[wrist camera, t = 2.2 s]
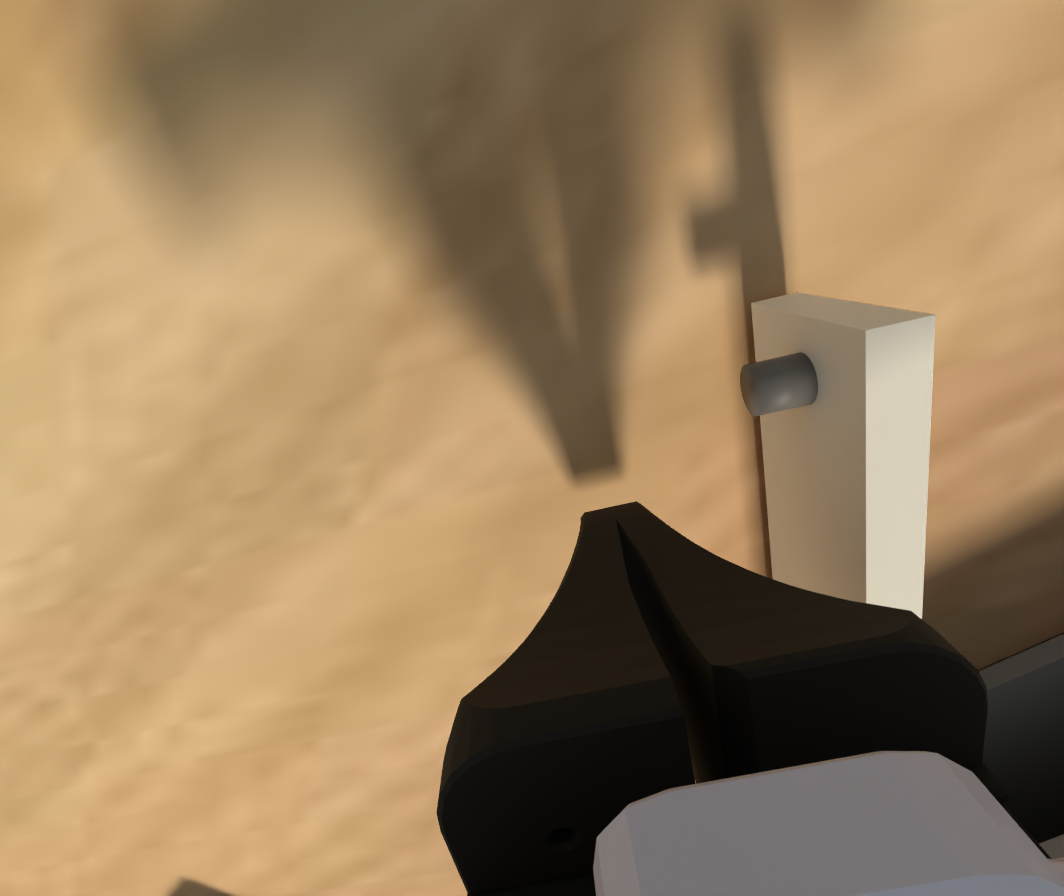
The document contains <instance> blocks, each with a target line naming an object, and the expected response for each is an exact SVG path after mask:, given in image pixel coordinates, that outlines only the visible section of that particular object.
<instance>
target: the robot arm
mask: <svg viewBox="0 0 1064 896" xmlns="http://www.w3.org/2000/svg"><path fill="white" fill-rule="evenodd" d="M987 715H988V696H987V687H986V685H985V683H984V681H983V679H982V677H981V675H980V673H979V671H978V669H976V668H975V667H974V666H973V665H972V664H971V663H970V662H969V661H968V660H967V659H966V658H965V657H963V656H962V655H961V654H960V653H959V652H958V651H957V650H956V649H955V648H954V647H953V646H952V645H951V644H950V643H949V642H948V641H947V640H946V639H945V638H943V637H942V636H941V635H940V634H939V633H938V632H937V631H936V630H934V629H933V628H932V627H931V626H929V625H928V624H927V623H926V622H924V621H923V620H922V619H921V618H919V617H918V616H917V615H916V614H915V613H913V612H912V611H910V610H904V609H898V608H892V607H886V606H880V605H874V604H868V603H862V602H856V601H850V600H845V599H841V598H837V597H833V596H829V595H824V594H820V593H816V592H812V591H809V590H805V589H802V588H798V587H795V586H791V585H788V584H785V583H782V582H779V581H776V580H773V579H770V578H768V577H765V576H762V575H759V574H757V573H754V572H752V571H749V570H747V569H744V568H742V567H740V566H738V565H736V564H733V563H731V562H729V561H727V560H724V559H722V558H720V557H718V556H716V555H714V554H713V553H711V552H709V551H707V550H705V549H704V548H702V547H700V546H698V545H697V544H695V543H693V542H692V541H690V540H689V539H687V538H686V537H684V536H683V535H681V534H680V533H678V532H677V531H675V530H674V529H672V528H671V527H670V526H668V525H667V524H666V523H664V522H663V521H662V520H660V519H659V518H658V517H656V516H655V515H654V514H653V513H651V512H650V511H649V510H648V509H646V508H645V507H644V506H643V505H641V504H640V503H638V502H637V501H636V502H632V503H627V504H622V505H618V506H613V507H608V508H604V509H599V510H594V511H590V512H585V513H584V514H583V515H582V517H581V526H580V532H579V536H578V540H577V544H576V547H575V550H574V553H573V556H572V559H571V562H570V564H569V567H568V569H567V571H566V573H565V576H564V578H563V580H562V583H561V585H560V587H559V589H558V591H557V593H556V595H555V596H554V598H553V600H552V602H551V603H550V605H549V607H548V608H547V610H546V612H545V613H544V615H543V616H542V618H541V619H540V620H539V622H538V623H537V625H536V626H535V628H534V629H533V630H532V632H531V633H530V634H529V636H528V637H527V638H526V639H525V641H524V642H523V643H522V644H521V645H520V646H519V647H518V649H517V650H516V651H515V652H514V653H513V654H512V655H511V656H510V657H509V658H508V659H507V660H506V661H505V662H504V663H503V664H502V665H501V666H500V667H499V668H498V669H497V670H496V671H495V672H493V673H492V674H491V675H490V676H489V677H487V678H486V679H485V680H484V681H483V682H482V683H480V684H479V685H478V686H477V687H476V688H475V689H473V690H472V691H471V692H470V693H468V694H467V695H466V696H465V697H463V698H462V699H461V701H460V704H459V707H458V710H457V713H456V717H455V720H454V723H453V726H452V730H451V734H450V737H449V740H448V743H447V747H446V752H445V757H444V762H443V769H442V777H441V784H440V792H439V799H438V807H437V817H438V821H439V826H440V830H441V833H442V835H443V838H444V840H445V842H446V844H447V847H448V849H449V851H450V854H451V856H452V858H453V860H454V863H455V865H456V867H457V870H458V872H459V874H460V876H461V879H462V881H463V883H464V886H465V888H466V890H467V892H468V893H467V896H1064V857H1063V858H1056V859H1052V858H1051V857H1050V856H1049V855H1048V854H1047V853H1046V852H1045V850H1044V849H1043V848H1042V847H1041V846H1040V845H1039V843H1038V842H1037V841H1036V840H1035V839H1034V838H1033V837H1032V835H1031V834H1030V833H1029V832H1028V831H1027V830H1026V829H1025V827H1024V826H1023V825H1022V824H1021V823H1020V822H1019V820H1018V819H1017V818H1016V817H1015V816H1014V815H1013V814H1012V812H1011V811H1010V810H1009V809H1008V808H1007V807H1006V805H1005V804H1004V803H1006V802H1007V801H1008V793H1007V791H1006V789H1005V787H1004V786H1003V784H1002V783H1001V782H1000V781H999V780H998V779H997V778H996V777H995V776H994V774H993V773H992V772H991V771H990V770H989V769H988V768H987V767H986V766H985V764H984V763H983V762H982V761H983V752H984V743H985V734H986V725H987ZM695 781H696V784H695Z"/></svg>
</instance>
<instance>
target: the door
mask: <svg viewBox="0 0 1064 896" xmlns="http://www.w3.org/2000/svg"><path fill="white" fill-rule="evenodd" d="M751 308H752V321H753V334H754V347H755V360H756V362H755V363H750V364H746V365H744V366H743V367H742V370H741V374H740V385H741V391H742V396H743V399H744V402H745V405H746V407H747V409H748V410H749V412H750V413H751V414H752V415H753V416H760V424H761V436H762V449H763V462H764V475H765V487H766V500H767V513H768V526H769V539H770V551H771V564H772V577H773V580H776V581H779V582H782V583H785V584H788V585H791V586H795V587H798V588H802V589H805V590H809V591H812V592H816V593H820V594H824V595H829V596H833V597H837V598H841V599H845V600H850V601H856V602H862V603H868V604H874V605H880V606H886V607H892V608H898V609H904V610H910V611H912V612H913V613H915V614H916V615H917V616H918V617H919V618H921V619H922V608H923V586H924V563H925V541H926V518H927V496H928V474H929V451H930V429H931V406H932V384H933V361H934V339H935V317H936V315H935V314H929V313H923V312H916V311H910V310H904V309H898V308H892V307H885V306H879V305H873V304H867V303H860V302H854V301H848V300H842V299H836V298H829V297H823V296H817V295H811V294H805V293H798V292H796V293H792V294H788V295H783V296H779V297H775V298H770V299H766V300H762V301H758V302H753V303H751Z"/></svg>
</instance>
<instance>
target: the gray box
mask: <svg viewBox="0 0 1064 896" xmlns="http://www.w3.org/2000/svg"><path fill="white" fill-rule="evenodd" d="M979 673H980V675H981V677H982V679H983V681H984V683H985V685H986V687H987V696H988V715H987V725H986V734H985V743H984V752H983V761H982V762H983V763H984V764H985V766H986V767H987V768H988V769H989V770H990V771H991V772H992V773H993V774H994V776H995V777H996V778H997V779H998V780H999V781H1000V782H1001V783H1002V784H1003V786H1004V787H1005V789H1006V791H1007V793H1008V801H1007V802H1006V803H1004V804H1005V805H1006V807H1007V808H1008V809H1009V810H1010V811H1011V812H1012V814H1013V815H1014V816H1015V817H1016V818H1017V819H1018V820H1019V822H1020V823H1021V824H1022V825H1023V826H1024V827H1025V829H1026V830H1027V831H1028V832H1029V833H1030V834H1031V835H1032V837H1033V838H1034V839H1035V840H1036V841H1037V842H1038V843H1039V845H1040V846H1041V847H1042V848H1043V849H1044V850H1045V852H1046V853H1047V854H1048V855H1049V856H1050V857H1051V858H1052V859H1056V858H1063V857H1064V634H1062V635H1060V636H1057V637H1055V638H1053V639H1051V640H1048V641H1046V642H1044V643H1042V644H1039V645H1037V646H1035V647H1033V648H1030V649H1028V650H1026V651H1024V652H1021V653H1019V654H1017V655H1014V656H1012V657H1010V658H1008V659H1005V660H1003V661H1001V662H999V663H996V664H994V665H992V666H990V667H987V668H985V669H983V670H981V671H979Z"/></svg>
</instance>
